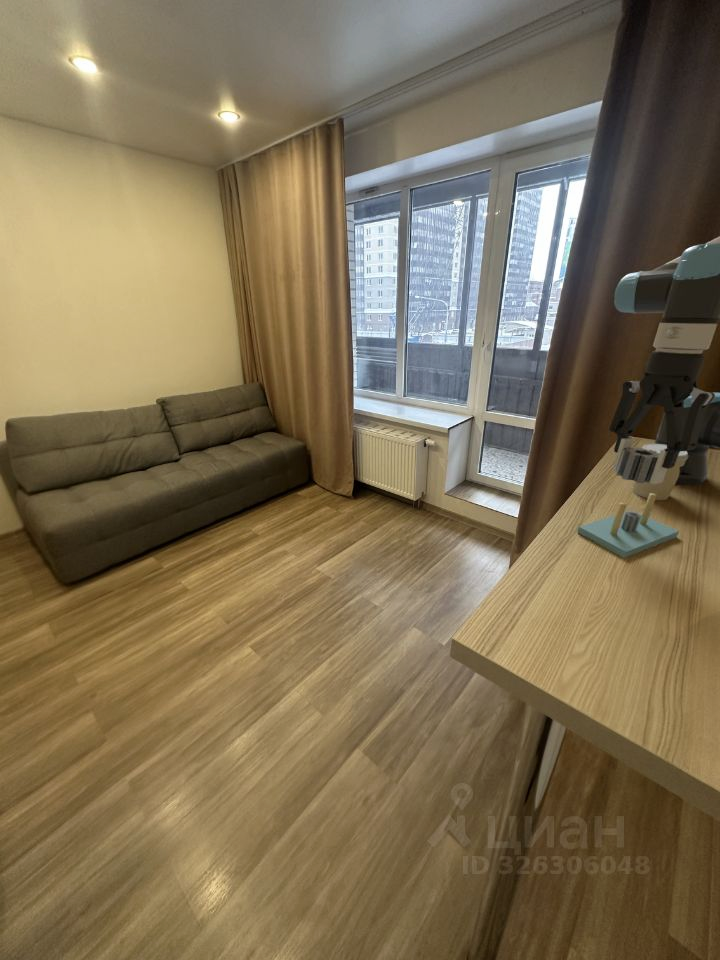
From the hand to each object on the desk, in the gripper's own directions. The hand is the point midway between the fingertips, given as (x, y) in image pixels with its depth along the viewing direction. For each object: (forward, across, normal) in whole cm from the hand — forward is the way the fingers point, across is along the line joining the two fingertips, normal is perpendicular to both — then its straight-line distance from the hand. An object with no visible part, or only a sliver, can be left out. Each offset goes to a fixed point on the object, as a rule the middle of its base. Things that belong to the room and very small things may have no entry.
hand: (636, 475), depth 73 cm
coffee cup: (+14, -10, +28) cm, 32 cm away
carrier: (+14, 0, +3) cm, 14 cm away
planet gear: (0, 0, 0) cm, 0 cm away
